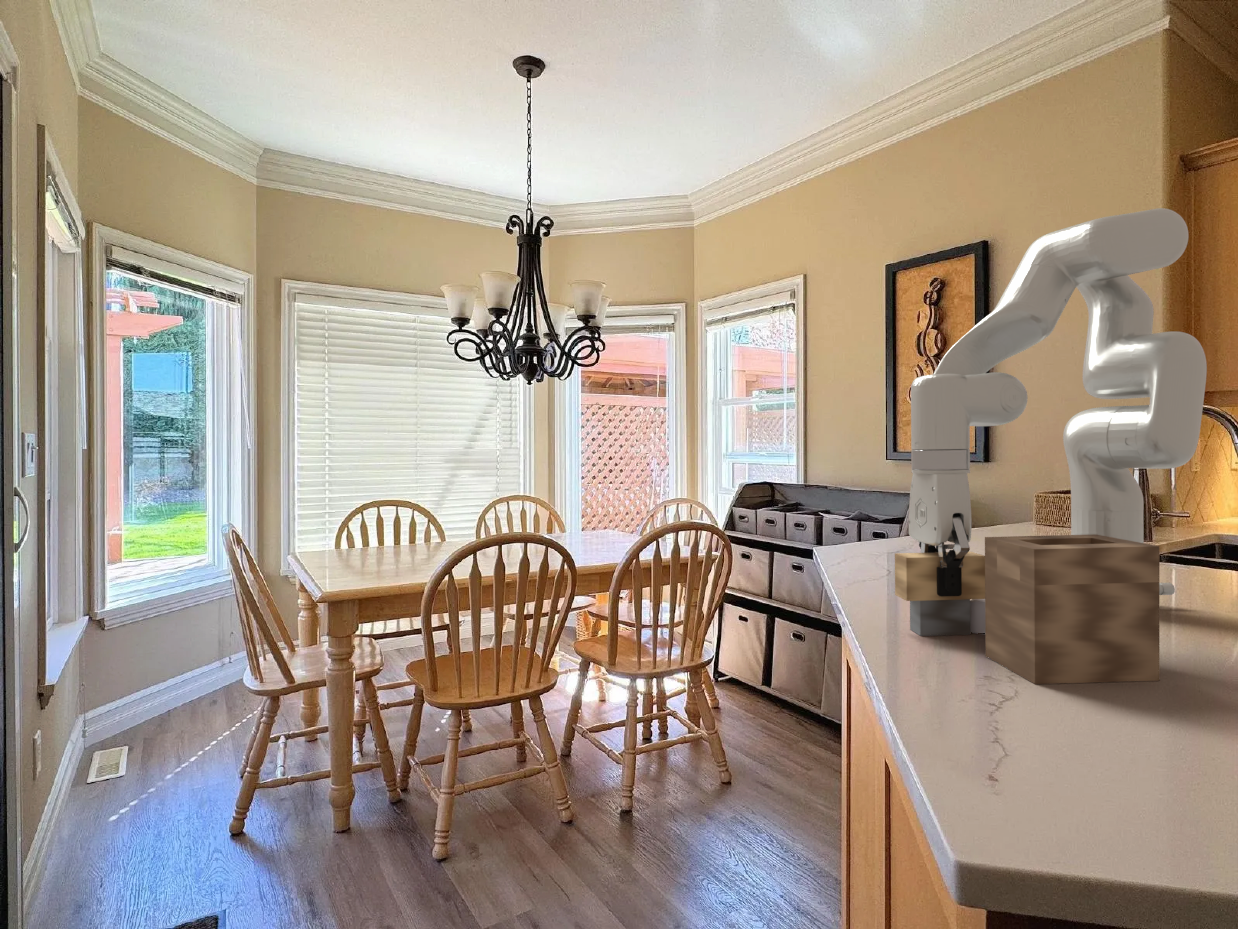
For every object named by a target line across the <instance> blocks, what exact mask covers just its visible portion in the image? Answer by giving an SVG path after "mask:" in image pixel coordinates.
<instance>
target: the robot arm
mask: <svg viewBox="0 0 1238 929" xmlns="http://www.w3.org/2000/svg"><path fill="white" fill-rule="evenodd" d="M1188 242H1189V230H1188V226H1187V223H1186V221H1185V220H1184V218H1183V217H1182V216H1181V215H1180V214H1179V213H1177V212H1176V211H1174V210H1172V209H1170V208H1163V207H1160V208H1152V209H1148V210H1147V209H1146V210H1140V211H1136V212H1129V213H1123V214H1115V215H1109V216H1104V217H1099V218H1095V219H1091V220H1088V221H1087V220H1086V221H1084V222H1081V223H1077V224H1074V225H1071V226H1068V227H1064V228H1061V229H1057V230H1055V231H1054V230H1053V231H1051V232H1048V233H1047V234H1043V235H1042V236H1040V237H1038V238H1036V240H1034V241H1033V242H1032V243H1031V244H1030V245H1029V247H1028V248H1027V249H1026V251H1025V253H1024V254H1023V256H1022V259H1021V260H1020V262H1019V264H1018V266H1017V267H1016V269H1015V271H1014V273H1013V275H1012V276H1011V279H1010V281H1009V283H1008V284H1007V286H1006V287H1005V290H1004V291H1003V293H1002V295H1001V297H1000V299H999V300H998V302H997V304H996V305H995V307H994V309H993V310H992V311H991V312H990V313H989V314H987V315H986V316H985V317H984V318H982V319H981V320H980V321H979V322H978V323H976V324H975V325H974V326H973V327H972V328H971V329H970V330H969V331H968V332H966V333H965V334H964V335H963V336H961V338H960V339H958V340H957V341H956V342H954V344H953V345H951V347H950V348H949V350H947V352H945V354H944V356H942V358H941V360H940V362H939V364H938V365H937V367H936V369H935V370H934V372H933V374H932V373H931V374H926V375H925V374H924V375H920V376H918V377H916V378H915V379H913V381H912V383H911V386H910V431H911V432H910V433H911V434H910V435H911V437H910V440H911V442H910V445H911V446H910V448H911V452H910V453H911V454H910V455H911V457H910V458H911V460H910V461H911V462H910V464H911V473H912V476H911V483H910V488H909V489H910V492H909V505H908V506H909V508H908V535H909V536H910V538H911V539H913V540H915V541H917V542H918V546H919V549H920V553H931V552H938V553H939V563H940V567H937V595H939V596H941V597H945V596H961V594H962V567H963V559H964V556H965V555H966V554H967V553H968V552H970V549H971V548H970V547H971V546H970V544H969V543H970V542H971V539H972V507H971V506H972V505H971V503H972V501H971V492H970V484H969V477H968V474H970V473H971V469H970V468H971V456H970V455H971V450H970V447H971V445H970V444H971V443H970V442H971V438H970V437H971V434H970V433H971V431H970V429H971V428H970V427H994V426H995V427H996V426H1001V425H1002V426H1003V425H1006V424H1009V423H1011V422H1014V421H1015V420H1016V419H1018V418H1019V417H1020V416H1021V415H1022V414H1023V413H1024V411H1025V410H1026V407H1027V404H1028V391H1027V389H1026V387H1025V384H1023V382H1022V381H1021V380H1020V379H1019V378H1017V377H1016V376H1014V375H1011V374H1010V373H1006V372H989V371H990V370H991V369H993V368H994V367H995V366H997V365H998V364H1000V363H1001V362H1003V361H1005V360H1007V359H1009V358H1011V357H1013V356H1016V355H1018V354H1020V353H1022V352H1024V351H1027V350H1028V349H1030V348H1031V347H1033V346H1036V345H1037V344H1038V343H1041V342H1042V341H1044V340H1045V339H1046V338H1048V337H1049V336H1050V335H1051V334H1052V332H1053V331H1054V329H1055V327H1056V325H1057V323H1058V321H1059V320H1060V318H1061V316H1062V313H1063V312H1064V310H1065V308H1066V306H1067V304H1068V302H1069V301H1070V299H1071V296H1072V295H1073V293H1074V291H1075V289H1077V290H1078V291H1079V293H1080V295H1081V296H1082V299H1084V302H1085V304H1086V307H1087V312H1088V320H1087V324H1088V325H1087V332H1086V333H1087V334H1086V342H1085V347H1084V348H1085V350H1084V356H1083V365H1082V384H1083V389H1084V390H1085V392H1087V394H1088V395H1090V396H1092V397H1093V398H1096V399H1100V400H1127V399H1141V398H1143V399H1144V398H1149V404H1142V405H1140V404H1139V405H1117V406H1101V407H1093V408H1089V409H1085V410H1082V411H1080V412H1078V413H1076V414H1074V415H1073V416H1072V417H1070V419H1069V420H1068V421H1067V422H1066V424H1065V426H1064V429H1063V433H1062V434H1063V435H1062V441H1063V448H1064V452H1065V456H1066V459H1067V460H1066V462H1067V466H1068V472H1069V480H1070V515H1071V517H1070V524H1071V525H1070V535H1090V534H1097V535H1102V536H1107V537H1113V538H1118V539H1123V540H1129V541H1134V542H1140V543H1144V510H1145V509H1144V505H1145V504H1144V495H1143V492H1142V489H1141V487H1140V485H1139V483H1138V481H1137V480H1136V477H1134V475H1133V474H1132V472H1131V471H1130V469H1147V470H1149V469H1151V470H1152V469H1155V470H1156V469H1159V470H1160V469H1161V470H1163V469H1164V470H1165V469H1175V468H1178V467H1179V468H1180V467H1182V466H1184V465H1186V464H1187V463H1189V461H1190V460H1192V458H1193V456H1194V455H1195V453H1196V451H1197V448H1198V444H1199V440H1200V433H1201V426H1202V418H1203V408H1204V400H1205V391H1206V385H1207V384H1206V383H1207V372H1208V371H1207V370H1208V368H1207V366H1208V365H1207V358H1206V353H1205V350H1204V348H1203V347H1202V345H1201V342H1200V341H1199V340H1198V339H1197V338H1196V337H1195V336H1193V335H1191V334H1189V333H1186V332H1183V331H1163V332H1156V333H1153V325H1154V313H1155V312H1154V305H1153V304H1154V303H1153V302H1152V299H1151V298H1150V296H1149V295H1148V294H1147V293H1146V291H1145V290H1144V289H1143V288H1142V287H1141V286H1140V285H1139V284H1138V283H1137V282H1135V281H1134V279H1132V277H1130V275H1134V274H1139V273H1143V272H1148V271H1152V270H1158V269H1163V268H1167V267H1168V266H1171V265H1172V264H1174V263H1176V261H1177V260H1178V259H1180V257H1181V256H1182V255H1183V254H1184V252H1186V251H1185V250H1186V248H1187V246H1188V244H1189V243H1188ZM947 542H950V543H951V544H950V543H949V544H945V543H947ZM947 550H949V551H947ZM946 552H948V554H947V556H946ZM1175 588H1176V587H1175V585H1174V584H1173V583H1172V582H1159V596H1172V595H1174V593H1175V591H1176V589H1175Z"/></svg>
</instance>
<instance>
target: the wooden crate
mask: <svg viewBox="0 0 1238 929" xmlns="http://www.w3.org/2000/svg"><path fill="white" fill-rule="evenodd" d="M984 556H985V634H984V638H985V657H986V656H987V657H989V658H991V659H992V660H991V659H990V660H991V661H993V662H995V661H996V662H998V663H999V664H998V663H997V664H998V665H1000V664H1001V665H1000V666H1002V665H1003V666H1002V667H1004V668H1005V667H1007V668H1008V669H1007V668H1006V669H1007V670H1009V671H1011V672H1012V671H1013V673H1015V674H1016V675H1018V676H1020V677H1021V678H1023V679H1025V680H1027V681H1029V682H1031V683H1033V684H1034V685H1048V684H1049V685H1050V684H1053V685H1054V684H1080V683H1081V684H1084V683H1085V684H1086V683H1089V684H1090V683H1117V682H1120V683H1121V682H1122V683H1123V682H1124V683H1125V682H1153V681H1154V682H1155V681H1157V682H1158V681H1160V595H1159V583H1160V545H1154V544H1150V543H1145V542H1143V543H1140V542H1134V541H1129V540H1123V539H1118V538H1113V537H1107V536H1102V535H1097V534H1090V535H1071V534H1064V535H1063V534H1058V535H1056V534H1055V535H1054V534H1052V535H1050V534H1049V535H1018V536H1017V535H1015V536H1014V535H1013V536H984ZM987 657H986V658H987ZM989 658H988V659H989ZM996 662H995V663H996Z"/></svg>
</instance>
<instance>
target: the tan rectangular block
mask: <svg viewBox="0 0 1238 929" xmlns="http://www.w3.org/2000/svg"><path fill="white" fill-rule="evenodd" d="M948 552H949V551H946V556H947V554H948ZM937 567H940V563H939V553H938V552H931V553H921V552H902V553H901V552H899V553H898V552H896V553H894V596H896V597H898V598H900V599H902V600H904V601H906V602H909V628H910V629H909V630H911V631H912V632H913V633H915V634H916V635H918V636H920V637H923V636H924V637H925V636H926V637H927V636H928V637H929V636H930V637H932V636H934V637H935V636H961V635H962V636H963V635H965V636H966V635H967V636H968V634H969V636H970V635H971V632H970V600H972V599H985V554H984V555H983V554H980V553H977V552H973V551H969V552H968V553H967V554H966V555H965V556H964V559H963V567H962V594H961V596H945V597H941V596H939V595H937Z"/></svg>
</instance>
